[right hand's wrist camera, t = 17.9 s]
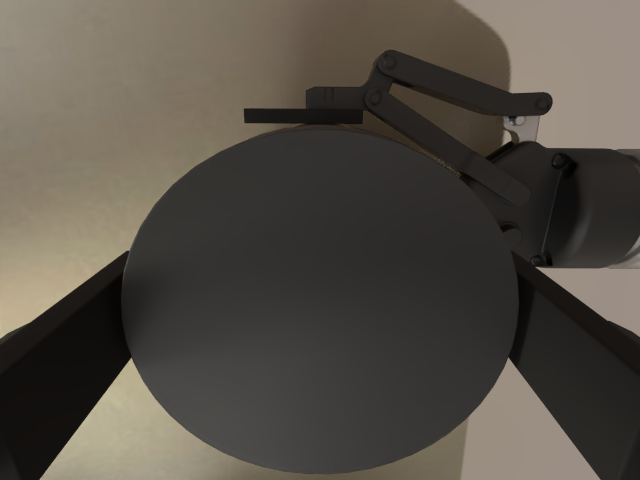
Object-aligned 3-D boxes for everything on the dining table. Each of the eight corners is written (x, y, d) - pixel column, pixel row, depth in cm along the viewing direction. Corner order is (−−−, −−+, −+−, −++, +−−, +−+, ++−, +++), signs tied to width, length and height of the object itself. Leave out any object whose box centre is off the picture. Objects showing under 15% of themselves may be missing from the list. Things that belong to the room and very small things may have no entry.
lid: (538, 340, 13) (576, 381, 11) (279, 464, 15) (272, 517, 13) (383, 40, 10) (399, 23, 8) (80, 251, 12) (32, 280, 10)
